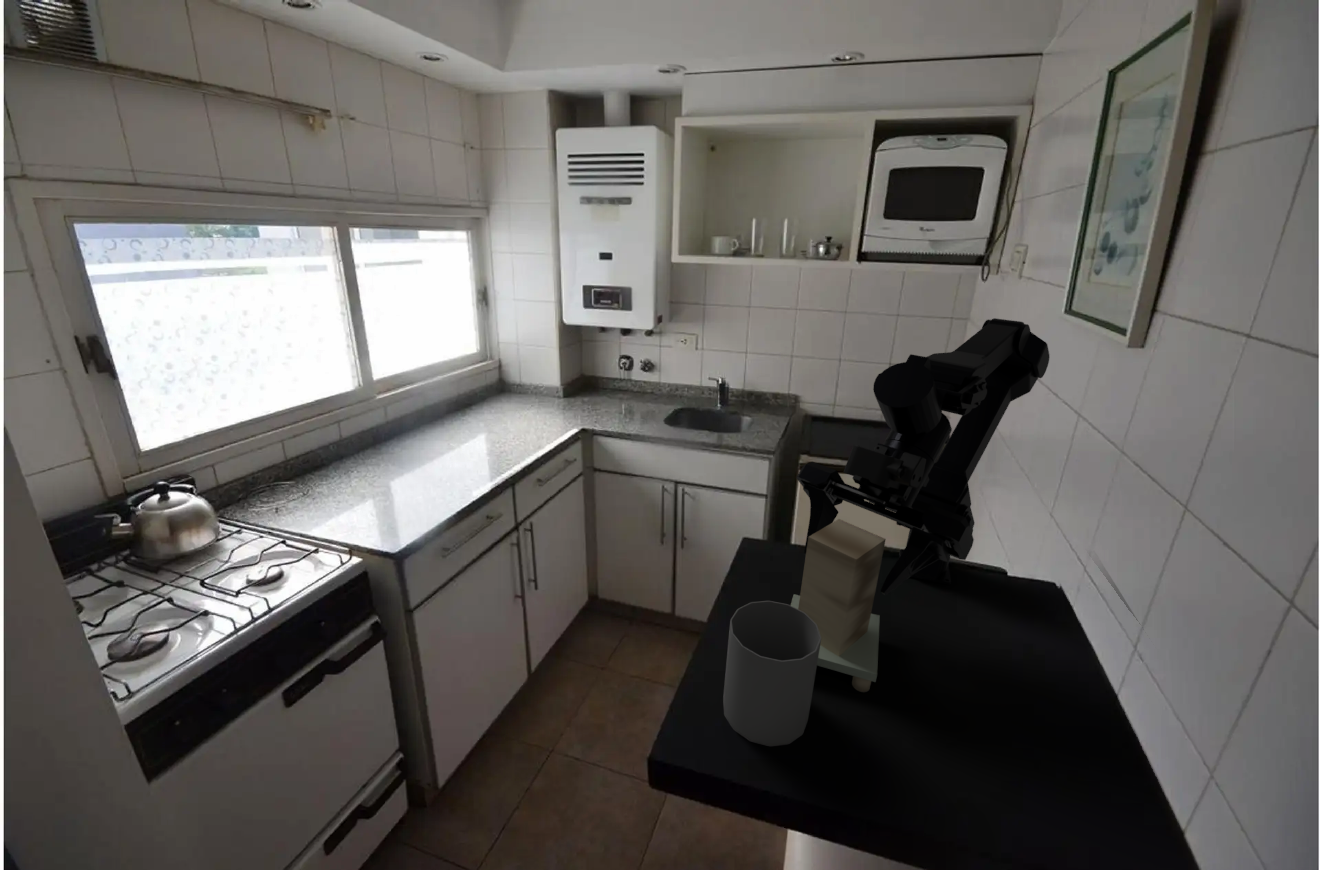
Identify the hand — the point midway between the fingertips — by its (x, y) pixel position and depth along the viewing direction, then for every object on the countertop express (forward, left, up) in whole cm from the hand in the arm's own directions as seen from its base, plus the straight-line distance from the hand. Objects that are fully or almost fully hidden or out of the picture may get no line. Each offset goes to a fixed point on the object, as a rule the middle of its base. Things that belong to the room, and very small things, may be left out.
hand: (842, 573), depth 60 cm
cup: (+11, -5, -11) cm, 16 cm away
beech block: (0, 0, -7) cm, 7 cm away
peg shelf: (0, 0, -10) cm, 10 cm away
